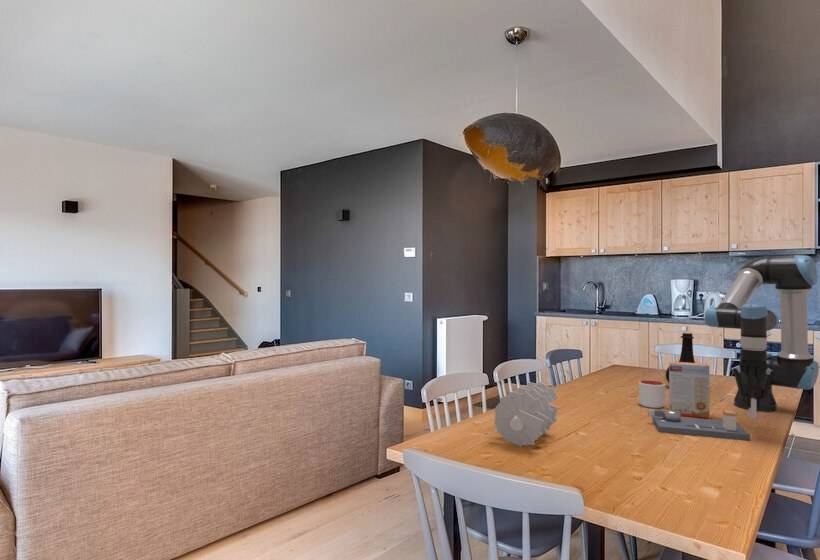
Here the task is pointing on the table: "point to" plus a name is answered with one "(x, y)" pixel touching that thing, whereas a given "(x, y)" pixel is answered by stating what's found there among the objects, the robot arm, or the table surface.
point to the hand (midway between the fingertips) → (752, 417)
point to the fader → (729, 420)
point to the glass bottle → (685, 351)
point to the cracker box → (689, 388)
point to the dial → (666, 414)
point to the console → (700, 428)
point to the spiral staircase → (526, 413)
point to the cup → (652, 394)
